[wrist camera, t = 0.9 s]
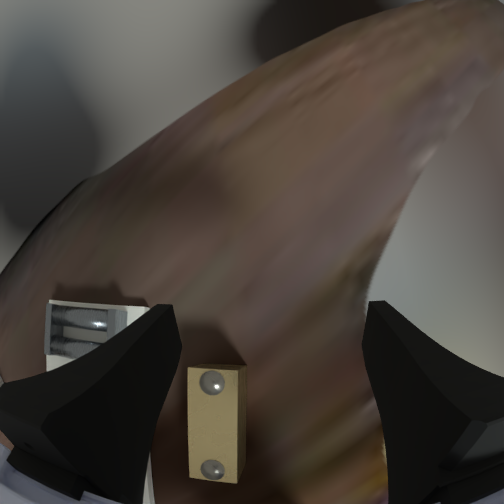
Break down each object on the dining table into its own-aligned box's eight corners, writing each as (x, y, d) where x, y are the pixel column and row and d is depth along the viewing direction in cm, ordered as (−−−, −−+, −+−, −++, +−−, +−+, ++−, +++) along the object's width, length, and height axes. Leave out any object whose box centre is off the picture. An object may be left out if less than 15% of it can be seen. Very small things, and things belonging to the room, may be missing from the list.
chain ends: (136, 514, 20) (127, 523, 18) (69, 489, 21) (59, 494, 19) (127, 311, 25) (115, 309, 24) (59, 305, 27) (46, 302, 25)
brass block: (245, 464, 22) (236, 484, 18) (204, 459, 22) (189, 477, 18) (247, 365, 24) (237, 370, 20) (203, 363, 24) (187, 367, 21)
